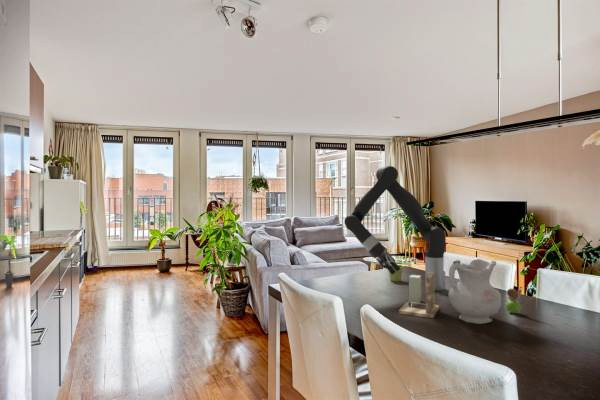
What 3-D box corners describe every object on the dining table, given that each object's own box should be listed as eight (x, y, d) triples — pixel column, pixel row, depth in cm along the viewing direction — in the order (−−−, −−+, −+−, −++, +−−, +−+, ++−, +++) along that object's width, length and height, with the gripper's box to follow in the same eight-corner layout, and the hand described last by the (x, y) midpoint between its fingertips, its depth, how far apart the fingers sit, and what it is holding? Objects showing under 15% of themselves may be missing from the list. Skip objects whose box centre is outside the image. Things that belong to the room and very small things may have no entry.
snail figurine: (517, 316, 152) (517, 287, 152) (502, 312, 158) (502, 284, 158) (525, 314, 155) (525, 286, 154) (510, 310, 160) (510, 282, 160)
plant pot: (403, 282, 212) (403, 267, 212) (387, 281, 215) (386, 267, 215) (403, 279, 221) (403, 264, 221) (387, 278, 224) (387, 264, 224)
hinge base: (398, 313, 157) (398, 275, 157) (407, 303, 171) (407, 269, 171) (433, 318, 151) (433, 279, 150) (439, 307, 165) (439, 272, 164)
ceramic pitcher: (477, 334, 136) (482, 268, 134) (433, 316, 152) (437, 257, 150) (509, 323, 147) (514, 262, 145) (465, 307, 164) (469, 252, 162)
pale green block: (409, 302, 173) (409, 276, 173) (411, 299, 178) (411, 274, 178) (418, 303, 171) (418, 277, 171) (421, 300, 176) (421, 275, 176)
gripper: (374, 243, 177) (398, 269, 171) (383, 240, 189) (405, 264, 184) (363, 253, 179) (387, 279, 174) (373, 249, 192) (395, 273, 186)
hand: (396, 271), depth 179 cm, fingers open, 8 cm apart
